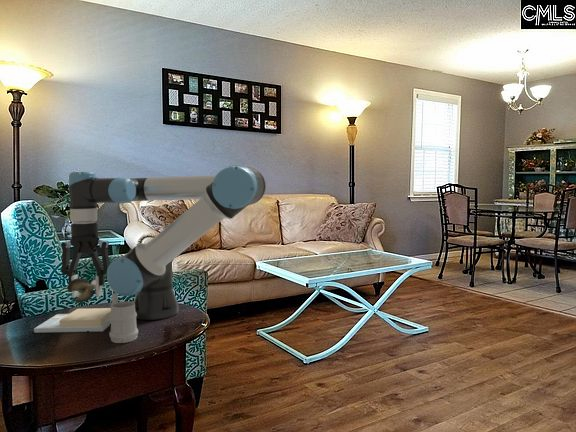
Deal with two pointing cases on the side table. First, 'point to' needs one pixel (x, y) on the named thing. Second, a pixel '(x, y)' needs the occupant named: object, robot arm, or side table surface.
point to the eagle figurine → (82, 289)
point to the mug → (122, 321)
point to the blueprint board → (82, 329)
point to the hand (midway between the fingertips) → (87, 296)
